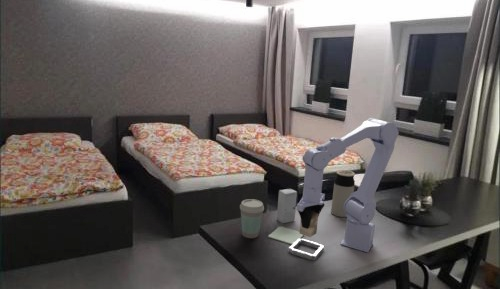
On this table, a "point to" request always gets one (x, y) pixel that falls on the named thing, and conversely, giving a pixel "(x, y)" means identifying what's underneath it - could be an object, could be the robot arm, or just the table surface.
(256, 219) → the coffee cup
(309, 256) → the metal collar
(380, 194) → the table surface
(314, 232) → the maple peg
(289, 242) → the pad
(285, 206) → the skincare box
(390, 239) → the table surface
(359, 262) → the table surface
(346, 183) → the travel mug
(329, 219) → the table surface
